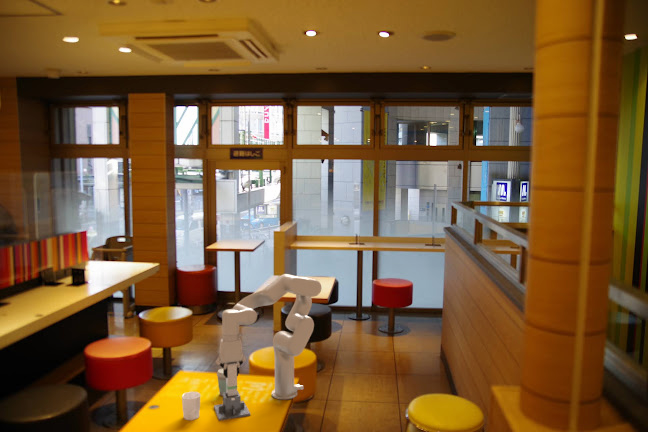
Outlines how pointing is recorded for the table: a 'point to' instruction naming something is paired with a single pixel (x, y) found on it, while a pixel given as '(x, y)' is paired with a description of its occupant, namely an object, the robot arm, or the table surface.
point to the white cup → (191, 405)
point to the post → (231, 380)
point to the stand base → (231, 408)
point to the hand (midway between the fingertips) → (231, 375)
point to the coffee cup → (221, 381)
